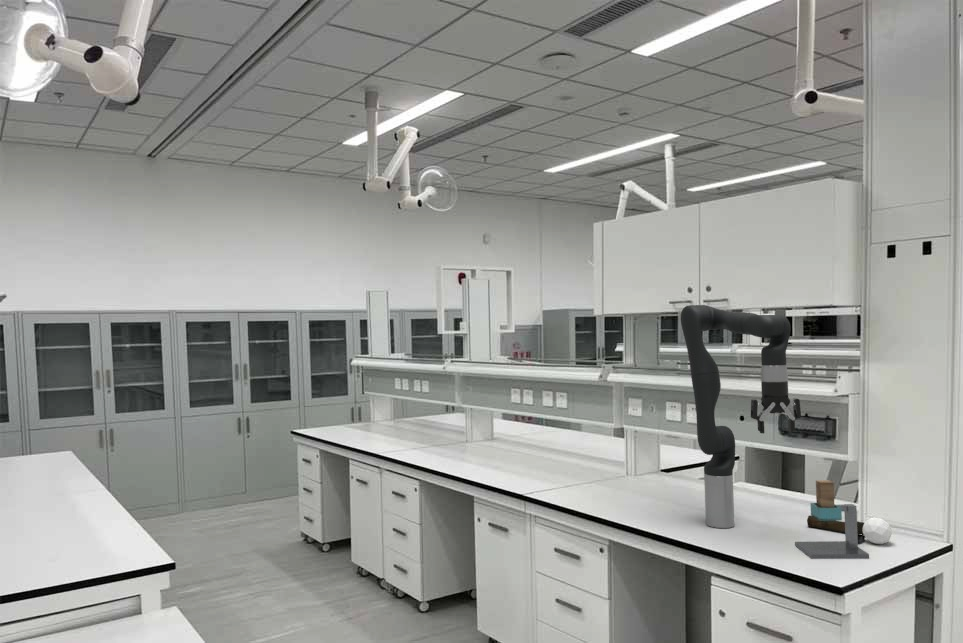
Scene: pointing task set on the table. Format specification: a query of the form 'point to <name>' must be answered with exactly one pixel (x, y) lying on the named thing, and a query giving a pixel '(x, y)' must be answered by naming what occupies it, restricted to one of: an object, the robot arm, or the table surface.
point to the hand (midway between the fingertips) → (776, 432)
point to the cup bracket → (835, 547)
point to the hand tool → (832, 525)
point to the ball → (877, 530)
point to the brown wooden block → (825, 494)
